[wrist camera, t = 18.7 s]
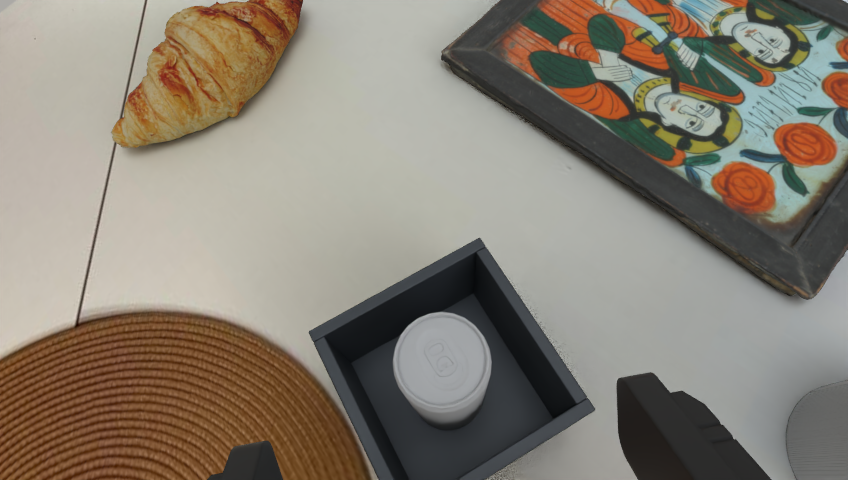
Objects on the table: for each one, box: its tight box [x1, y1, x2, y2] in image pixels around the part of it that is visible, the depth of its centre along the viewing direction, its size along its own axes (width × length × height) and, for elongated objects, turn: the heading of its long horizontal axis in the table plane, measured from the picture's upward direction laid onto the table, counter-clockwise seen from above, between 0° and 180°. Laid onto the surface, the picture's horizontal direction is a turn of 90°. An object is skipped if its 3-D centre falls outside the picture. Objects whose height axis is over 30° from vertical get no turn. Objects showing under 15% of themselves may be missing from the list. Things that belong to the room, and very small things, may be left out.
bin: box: [309, 238, 595, 480], centre depth 33 cm, size 11×11×9 cm
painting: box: [441, 0, 848, 300], centre depth 45 cm, size 28×35×2 cm
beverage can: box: [393, 312, 492, 430], centre depth 31 cm, size 5×5×12 cm
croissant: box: [111, 0, 303, 148], centre depth 47 cm, size 21×10×8 cm, turn 139°
